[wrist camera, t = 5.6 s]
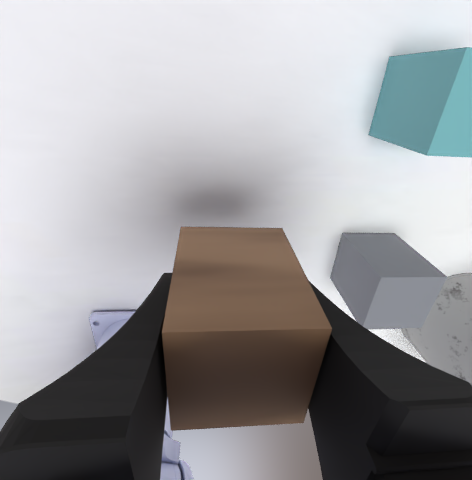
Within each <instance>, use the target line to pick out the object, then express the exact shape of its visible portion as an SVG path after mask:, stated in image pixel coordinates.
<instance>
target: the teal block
mask: <svg viewBox="0 0 472 480" xmlns="http://www.w3.org/2000/svg"><path fill="white" fill-rule="evenodd" d="M369 135H370V136H373V137H376V138H378V139H381V140H384V141H387V142H390V143H393V144H396V145H398V146H401V147H404V148H407V149H410V150H413V151H415V152H418V153H421V154H424V155H427V156H451V157H472V48H469V47H466V48H458V49H449V50H441V51H433V52H424V53H416V54H408V55H400V56H391V57H389V61H388V64H387V68H386V72H385V76H384V79H383V83H382V87H381V91H380V94H379V98H378V102H377V106H376V109H375V113H374V117H373V120H372V124H371V128H370V132H369Z"/></svg>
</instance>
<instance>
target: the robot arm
mask: <svg viewBox="0 0 472 480" xmlns="http://www.w3.org/2000/svg"><path fill="white" fill-rule="evenodd" d="M171 279H172V273H164V274H163V275H162V276H161V278H160V279H159V281H158V283H157V284H156V286H155V287H154V288H153V290H152V291H151V293H150V294H149V295H148V297H147V298H146V299H145V301H144V302H143V303H142V304H141V306H140V307H139V308H138V309H137V310H136V311H126V312H93V313H91V315H90V317H89V320H90V324H91V328H92V332H93V336H94V340H95V344H96V347H97V349H96V351H95V352H94V353H93V354H91V355H90V356H89V357H88V358H86V359H85V360H84V361H82V362H81V363H80V364H78V365H77V366H76V367H74V368H73V369H72V370H70V371H69V372H68V373H66V374H65V375H63V376H62V377H60V378H59V379H57V380H56V381H54V382H53V383H51V384H50V385H48V386H46V387H45V388H43V389H42V390H40V391H38V392H37V393H35V394H34V395H32V396H30V397H29V398H27V399H26V400H24V401H22V402H20V403H19V404H18V406H17V407H16V409H15V410H14V412H13V413H12V414H11V416H10V417H9V419H8V420H7V422H6V423H5V425H4V426H3V428H2V430H1V431H0V480H194V478H193V475H192V471H191V469H190V466H189V465H188V463H187V462H185V461H184V460H179V453H180V442H179V441H175V440H173V439H172V432H173V431H171V427H170V416H169V405H168V394H167V384H166V373H165V362H164V351H163V340H162V329H163V323H164V318H165V312H166V306H167V301H168V295H169V290H170V284H171ZM309 283H310V285H311V287H312V289H313V291H314V293H315V295H316V297H317V299H318V301H319V303H320V305H321V307H322V309H323V311H324V313H325V315H326V317H327V319H328V321H329V323H330V325H331V327H332V331H331V334H330V337H329V340H328V344H327V347H326V350H325V354H324V357H323V360H322V363H321V367H320V370H319V373H318V377H317V380H316V383H315V386H314V390H313V393H312V396H311V400H310V403H309V406H308V409H309V413H310V418H311V422H312V427H313V431H314V435H315V441H316V446H317V451H318V456H319V461H320V465H321V471H322V477H323V480H472V385H471V384H470V383H469V382H467V381H465V380H463V379H460V378H458V377H456V376H454V375H451V374H449V373H447V372H444V371H442V370H440V369H438V368H435V367H433V366H431V365H429V364H427V363H425V362H423V361H421V360H419V359H417V358H415V357H413V356H411V355H409V354H407V353H405V352H404V351H402V350H400V349H398V348H396V347H395V346H393V345H391V344H390V343H388V342H386V341H385V340H383V339H381V338H380V337H378V336H377V335H375V334H373V333H372V332H370V331H369V330H368V329H366V328H365V327H363V326H362V325H360V324H359V323H357V322H356V321H355V320H353V319H352V318H351V317H349V316H348V315H347V314H346V313H344V312H343V311H342V310H341V309H339V308H338V307H337V306H336V305H335V304H334V303H332V302H331V301H330V300H329V299H328V298H327V297H326V296H324V295H323V294H322V293H321V292H320V291H319V290H318V289H317V288H316V287H315V286H314V285H313V284H312V283H311V282H309ZM95 321H97V322H95Z"/></svg>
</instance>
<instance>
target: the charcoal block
mask: <svg viewBox="0 0 472 480" xmlns="http://www.w3.org/2000/svg"><path fill="white" fill-rule="evenodd" d="M330 278H331V280H332V282H333V283H334V285H335V287H336V288H337V290H338V292H339V293H340V295H341V296H342V298H343V300H344V301H345V303H346V305H347V306H348V308H349V309H350V311H351V313H352V314H353V316H354V318H355V319H356V321H357V323H359V324H360V325H362V326H363V327H365V328H366V329H399V328H422V326H423V324H424V322H425V320H426V318H427V316H428V314H429V312H430V310H431V308H432V306H433V304H434V302H435V300H436V298H437V296H438V294H439V292H440V291H441V289H442V287H443V285H444V283H445V281H446V279H447V276H445V275H444V274H443V273H442V272H441V271H439V270H438V269H437V268H436V267H435V266H433V265H432V264H431V263H430V262H429V261H427V260H426V259H425V258H424V257H423V256H421V255H420V254H419V253H418V252H416V251H415V250H414V249H413V248H412V247H410V246H409V245H408V244H407V243H406V242H404V241H403V240H402V239H401V238H400V237H398V236H397V235H396V234H395V233H342V236H341V240H340V243H339V247H338V251H337V255H336V258H335V262H334V266H333V270H332V273H331V277H330Z"/></svg>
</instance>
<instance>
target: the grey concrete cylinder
mask: <svg viewBox="0 0 472 480" xmlns="http://www.w3.org/2000/svg"><path fill="white" fill-rule="evenodd" d="M402 332H403V334H404V335H405V337H406V338H407V339H408V340H409V341H410V342H411V343H412V345H413V346H414V347H415V349H416V350H417V351H418V352H419V354H420V355H421V356H422V358H423V359H424V360H425V362H426V363H427V364H429V365H431V366H433V367H435V368H438V369H440V370H442V371H444V372H447V373H449V374H451V375H454V376H456V377H458V378H460V379H463V380H465V381H467V382H469V383H470V384H471V385H472V273H463V274H458V275H453V276H450V277H447V279H446V281H445V283H444V285H443V287H442V289H441V291H440V292H439V294H438V296H437V298H436V300H435V302H434V304H433V306H432V308H431V310H430V312H429V314H428V316H427V318H426V320H425V322H424V324H423V326H422V328H402Z"/></svg>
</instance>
